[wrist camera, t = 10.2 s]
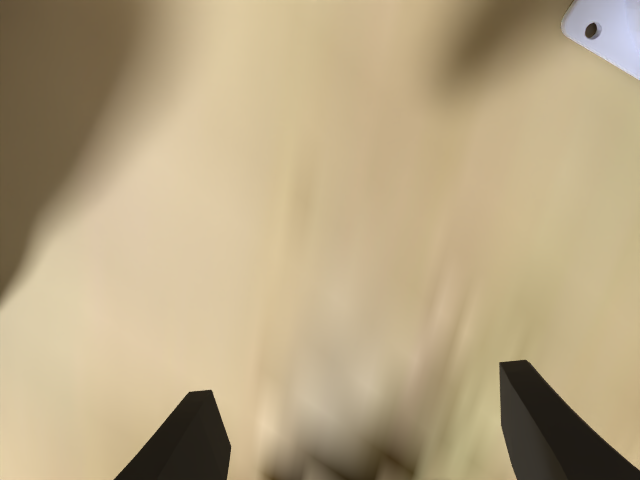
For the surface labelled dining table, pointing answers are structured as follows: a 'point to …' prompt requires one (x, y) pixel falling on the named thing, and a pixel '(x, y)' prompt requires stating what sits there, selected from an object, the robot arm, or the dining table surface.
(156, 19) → the dining table surface
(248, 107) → the dining table surface
